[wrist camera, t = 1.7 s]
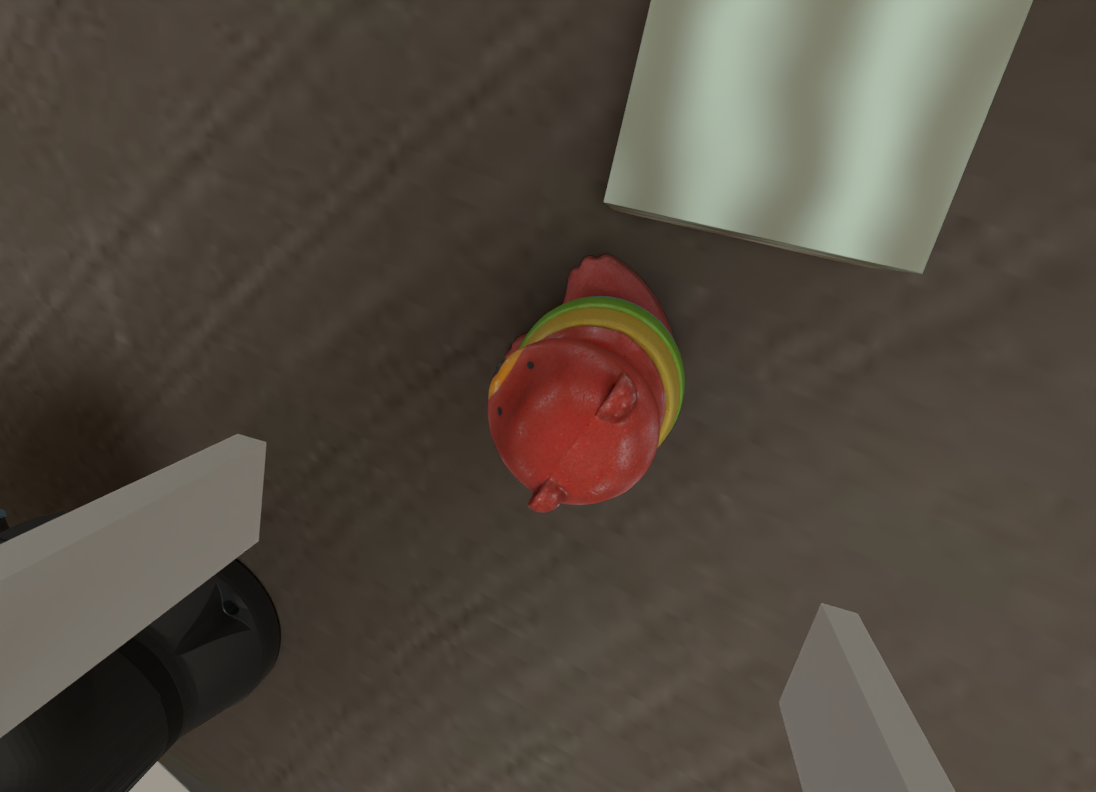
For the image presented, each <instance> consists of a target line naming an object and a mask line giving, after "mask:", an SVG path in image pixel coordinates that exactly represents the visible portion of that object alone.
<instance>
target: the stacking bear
mask: <svg viewBox="0 0 1096 792" xmlns="http://www.w3.org/2000/svg"><path fill="white" fill-rule="evenodd" d="M684 388H685V375H684V367H683V363H682V358H681V355H680V352H679V350H678V347H677V345H676V343H675V341H674V339H673V335H672V332H671V328H670V326H669V323H668V320H667V318H666V316H665V314H664V311H663V309H662V307H661V306H660V304H659V302H658V300H657V299H656V297H655V296H654V294H653V293H652V291H651V290H650V289H649V288H648V286H647V285H646V284H645V283H644V282H643V280H642V279H641V278H640V277H639V276H638V275H637V274H636V273H635V272H634V271H632V270H631V269H630V268H629V267H628V266H627V265H625V264H624V263H623V262H621V261H620V260H619V259H617V258H615V257H613V256H611V255H608V254H604V255H601V256H600V257H599V258H597V257H594V256H587V257H585V258H584V259H583V260H582V262H581V265H580V266H578V267H575V268H574V269H572V271H571V272H570V274H569V277H568V284H567V290H566V295H565V298H564V301H563V303H562V305H560V306H558V307H556V308H554V309H553V310H551V311H550V312H548V313H547V314H545V315H544V316H543V317H542V318H541V319H540V320H539V321H538V322H537V323H536V324H535V325H534V326H533V327H532V328H531V330H530V331H529V332H528V333H526V334H524V335H522V336H520V337H518V338H517V339H516V340H515V341H514V342H513V344H512V348H511V350H509V351H508V352H507V353H506V355H505V360H503V361H502V362H501V363H500V364H499V365H498V366H497V367H496V371H495V373H494V375H493V379H492V381H491V384H490V388H489V396H488V421H489V427H490V432H491V435H492V437H493V440H494V443H495V445H496V448H497V450H498V452H499V454H500V456H501V458H502V460H503V462H504V464H505V465H506V466H507V468H508V469H509V470H510V472H511V473H512V474H513V475H514V476H515V477H516V478H517V479H518V480H519V481H520V482H521V483H522V484H524V485H525V486H526V487H527V488H528V489H530V490H531V491H532V492H533V495H532V498H531V499H530V501H529V503H528V507H529V508H530V509H532V510H534V511H536V512H549V511H552V510H554V509H556V508H557V507H558V506H559V505H560V504H561V503H563V504H576V505H584V504H594V503H599V502H603V501H606V500H608V499H611V498H614V497H616V496H618V495H621V494H622V493H624V492H626V491H627V490H629V489H630V488H631V487H632V486H633V485H634V484H636V483H637V482H638V481H639V480H640V479H641V477H642V476H643V475H644V474H645V473H646V471H647V470H648V468H649V466H650V464H651V463H652V461H653V459H654V457H655V454H656V451H657V448H658V447H659V446H660V445H661V444H662V442H663V441H664V440H665V438H666V437H667V435H668V434H669V432H670V431H671V429H672V428H673V426H674V424H675V422H676V420H677V417H678V415H679V412H680V409H681V406H682V402H683V396H684Z"/></svg>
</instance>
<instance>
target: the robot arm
mask: <svg viewBox="0 0 1096 792" xmlns="http://www.w3.org/2000/svg"><path fill="white" fill-rule="evenodd" d="M265 455H266V442H264V441H261V440H257V439H254V438H250V437H247V436H243V435H240V434H236V435H234V436H232V437H230V438H228V439H225V440H223V441H221V442H219V443H217V444H215V445H213V446H210V447H208V448H206V449H204V450H202V451H200V452H197V453H195V454H193V455H191V456H189V457H187V458H185V459H182V460H180V461H178V462H176V463H174V464H172V465H170V466H167V467H165V468H163V469H161V470H159V471H157V472H154V473H152V474H150V475H148V476H146V477H144V478H142V479H139V480H137V481H135V482H133V483H131V484H129V485H127V486H124V487H122V488H120V489H118V490H116V491H114V492H111V493H109V494H107V495H105V496H103V497H101V498H99V499H96V500H94V501H92V502H90V503H88V504H86V505H84V506H81V507H79V508H77V509H75V510H73V511H71V512H69V513H67V512H60V513H56V514H52V515H48V516H44V517H40V518H36V519H33V520H29V521H25V522H23V523H21V524H19V525H16V526H14V527H12V528H9V526H8V524H7V522H6V520H5V518H7V515H6V512H5V511H4V510H3V509H0V792H129V791H130V790H131V789H132V788H133V786H134V785H135V784H136V783H137V782H138V781H139V780H140V779H141V778H142V777H143V776H144V775H145V774H146V773H147V771H148V770H149V769H150V768H151V767H152V766H153V765H154V764H155V763H156V762H157V761H158V760H159V759H160V758H161V757H162V755H163V754H164V753H165V752H166V751H167V750H168V749H169V748H170V747H171V746H172V745H173V744H174V743H175V742H176V741H177V740H178V739H179V738H180V737H181V736H183V735H185V734H186V733H188V732H190V731H191V730H193V729H195V728H196V727H198V726H200V725H201V724H203V723H204V722H206V721H208V720H209V719H211V718H212V717H214V716H216V715H217V714H219V713H220V712H222V711H223V710H225V709H226V708H228V707H230V706H233V705H235V704H237V703H238V702H240V701H241V700H243V699H244V698H245V697H247V696H248V695H249V694H250V693H251V692H252V691H253V690H254V689H255V688H256V687H257V685H258V684H259V683H260V682H261V681H262V680H263V679H264V678H265V676H266V675H267V674H268V673H269V672H270V670H271V669H272V667H273V665H274V663H275V661H276V658H277V655H278V651H279V645H280V632H279V625H278V620H277V617H276V614H275V611H274V608H273V606H272V604H271V601H270V599H269V598H268V596H267V594H266V592H265V591H264V589H263V588H262V587H261V585H260V584H259V582H258V581H257V580H256V579H255V578H254V577H253V575H252V574H251V573H250V572H249V571H248V570H247V569H246V568H244V567H243V566H242V565H241V564H240V563H239V562H237V561H236V560H235V559H236V558H237V557H238V556H240V555H241V554H242V553H244V552H245V551H246V550H248V549H249V548H250V547H252V546H253V545H254V544H256V543H257V542H258V541H259V530H260V518H261V505H262V493H263V480H264V467H265ZM779 706H780V709H781V713H782V717H783V720H784V724H785V728H786V731H787V735H788V739H789V742H790V746H791V750H792V753H793V757H794V761H795V764H796V768H797V772H798V775H799V779H800V783H801V786H802V790H803V792H955V790H954V788H953V786H952V785H951V783H950V781H949V779H948V777H947V776H946V774H945V772H944V770H943V768H942V766H941V765H940V763H939V761H938V759H937V757H936V755H935V754H934V752H933V750H932V748H931V746H930V745H929V743H928V741H927V739H926V737H925V735H924V734H923V732H922V730H921V728H920V726H919V725H918V723H917V721H916V719H915V717H914V715H913V714H912V712H911V710H910V708H909V706H908V705H907V703H906V701H905V699H904V697H903V695H902V694H901V692H900V690H899V688H898V686H897V684H896V683H895V681H894V679H893V677H892V675H891V674H890V672H889V670H888V668H887V666H886V664H885V663H884V661H883V659H882V657H881V655H880V654H879V652H878V650H877V648H876V646H875V644H874V643H873V641H872V639H871V637H870V635H869V634H868V632H867V630H866V628H865V626H864V624H863V623H862V621H861V619H860V617H859V615H858V614H857V613H854V612H851V611H847V610H844V609H840V608H837V607H833V606H830V605H827V604H823V603H821V605H820V607H819V609H818V612H817V614H816V616H815V619H814V621H813V623H812V626H811V628H810V630H809V633H808V635H807V637H806V640H805V642H804V644H803V647H802V649H801V651H800V654H799V656H798V658H797V661H796V663H795V665H794V668H793V670H792V673H791V675H790V677H789V680H788V682H787V684H786V687H785V689H784V691H783V694H782V696H781V698H780V701H779Z"/></svg>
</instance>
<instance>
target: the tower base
mask: <svg viewBox="0 0 1096 792" xmlns="http://www.w3.org/2000/svg"><path fill="white" fill-rule="evenodd" d="M1032 2H1033V0H651V3H650V7H649V11H648V16H647V20H646V24H645V28H644V33H643V37H642V41H641V45H640V50H639V54H638V58H637V62H636V67H635V71H634V75H633V79H632V84H631V88H630V92H629V96H628V101H627V105H626V109H625V113H624V118H623V122H622V126H621V130H620V135H619V139H618V143H617V147H616V152H615V156H614V160H613V164H612V169H611V173H610V177H609V181H608V186H607V190H606V194H605V198H604V203H605V204H607V205H608V206H609V207H610V208H611V209H612V210H614V211H618V212H622V213H627V214H631V215H636V216H640V217H645V218H649V219H653V220H658V221H662V222H667V223H671V224H676V225H680V226H684V227H689V228H693V229H698V230H702V231H707V232H711V233H715V234H720V235H724V236H729V237H733V238H738V239H742V240H746V241H751V242H755V243H760V244H764V245H769V246H773V247H777V248H782V249H786V250H791V251H795V252H800V253H804V254H808V255H813V256H817V257H822V258H826V259H831V260H835V261H839V262H844V263H848V264H853V265H857V266H862V267H870V268H879V269H887V270H896V271H904V272H913V273H921V274H922V273H923V271H924V268H925V266H926V263H927V261H928V258H929V256H930V253H931V251H932V248H933V246H934V244H935V241H936V239H937V236H938V234H939V231H940V229H941V226H942V224H943V221H944V219H945V216H946V214H947V211H948V209H949V207H950V204H951V202H952V199H953V197H954V194H955V192H956V189H957V187H958V184H959V182H960V179H961V177H962V174H963V172H964V169H965V167H966V165H967V162H968V160H969V157H970V155H971V152H972V150H973V147H974V145H975V142H976V140H977V137H978V135H979V132H980V130H981V128H982V125H983V123H984V120H985V118H986V115H987V113H988V110H989V108H990V105H991V103H992V100H993V98H994V95H995V93H996V91H997V88H998V86H999V83H1000V81H1001V78H1002V76H1003V73H1004V71H1005V68H1006V66H1007V63H1008V61H1009V58H1010V56H1011V53H1012V51H1013V49H1014V46H1015V44H1016V41H1017V39H1018V36H1019V34H1020V31H1021V29H1022V26H1023V24H1024V21H1025V19H1026V16H1027V14H1028V12H1029V9H1030V7H1031V4H1032Z"/></svg>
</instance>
